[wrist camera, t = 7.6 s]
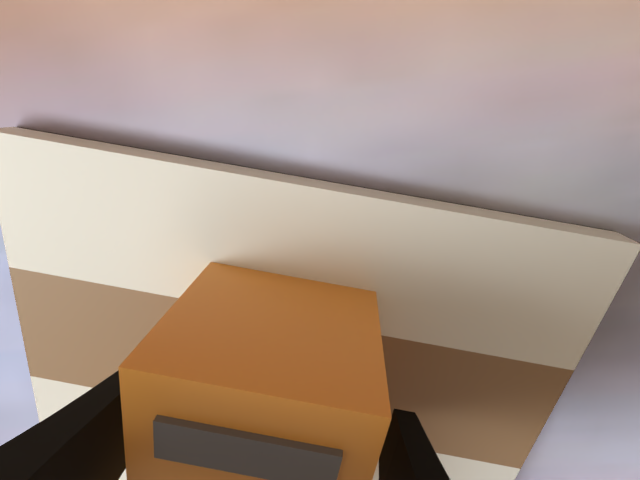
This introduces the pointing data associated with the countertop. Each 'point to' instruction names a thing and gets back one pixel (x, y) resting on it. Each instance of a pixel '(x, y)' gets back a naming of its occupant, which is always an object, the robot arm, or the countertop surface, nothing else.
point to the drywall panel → (308, 263)
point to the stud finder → (257, 382)
